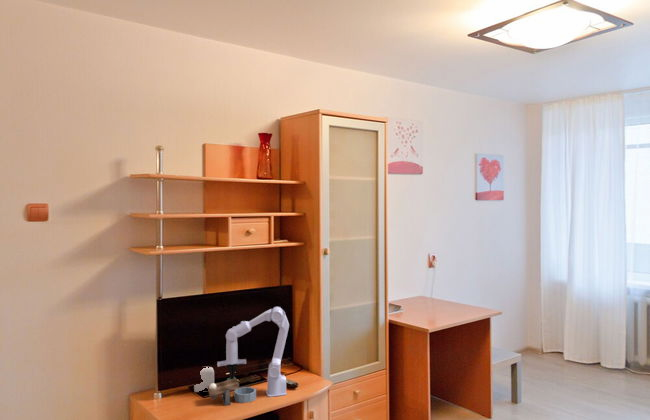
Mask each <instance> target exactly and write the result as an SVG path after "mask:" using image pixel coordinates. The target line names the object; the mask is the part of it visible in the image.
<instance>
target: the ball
mask: <svg viewBox="0 0 650 420" xmlns="http://www.w3.org/2000/svg"><path fill="white" fill-rule="evenodd" d="M216 384H217V383H215V382H214V383H212V384H210V386H209V389H210V390H214V389H216V388H217V386H216Z"/></svg>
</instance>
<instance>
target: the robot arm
mask: <svg viewBox="0 0 650 420" xmlns="http://www.w3.org/2000/svg"><path fill="white" fill-rule="evenodd" d="M266 321H267V322H271V321H272V322H273V323H274V324H276V325H277V326H278V328H279V330H278V334H277V339H276V343H275V347H274V351H273V356H272V359H271V362H269V364H268V370H267V381H266V382H267V390H265V393H266V395H267V397H269V398H270V397H277V396H279V397H280V396H286V395H287V377H286V376H285V375H283V374H282V373H281V368H282V367H281V364H282V363H281V362H282V358H283V354H284V350H285V347H286V346H285V345H286V343H287V342H286V340H287V337H288V332H289V328H290V323H289V320H288V317H287V315H286V312H285V310H284V309H283V308H281V306H274V307H273V308H270V309H268V310H265V311H264V312H262V313H261V314H259V315H258V316H256V317H255V318H252V319H251V320H249V321H248V320H247V321H246V320H242V321H240V323H238V324H236V326H235V325H234V326H232V328H229V329H227V331H226V334H225V339H226V344H225V345H226V346H225V349H226V350H225V353H226V354H225V355H226V356H225V357H226V359H225V360H221V361H216V362H217V363H216V365H217V368H219V367H224V366H225V367H227V371H228V372H229V378H230V379H234V377H235V374H236V371H237V369H238V366H239V365H246V364H247V358H243V359H242V358H241V359H240V358H239V357H238V356H239V355H238V354H239V353H238V351H239V350H238V348H239V347H238V345H239V344H238V338H240V337H242V336H244V335H246V334H247V333H249V332H251V331H252V328H253V327H255V326H257V325H259V324H261V323H263V322H266Z"/></svg>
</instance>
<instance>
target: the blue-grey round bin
mask: <svg viewBox="0 0 650 420" xmlns="http://www.w3.org/2000/svg"><path fill="white" fill-rule="evenodd" d="M233 399H234V401H235V403H239V404H241V403H242V404H246V403H251V402H254V401H255V400H257V389H256V387H252V386H241V387H239V388H238V389H235V390H233Z"/></svg>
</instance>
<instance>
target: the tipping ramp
mask: <svg viewBox="0 0 650 420" xmlns="http://www.w3.org/2000/svg"><path fill="white" fill-rule="evenodd" d="M215 384H216V386H217V388H216V389H214V390H210V389H209V386H207V387H208V391H207V392H208V395H209V398H210V399H211V400H215V399H217V398H218V395H221V394H223V393H225V389H230V392H231V391H235V390H236V389H238V388H240V383H239V382H238V378H236V376H234V379H230V377H229V378H227V379H226V380H224V381H221V382H216V383H215Z"/></svg>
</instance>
